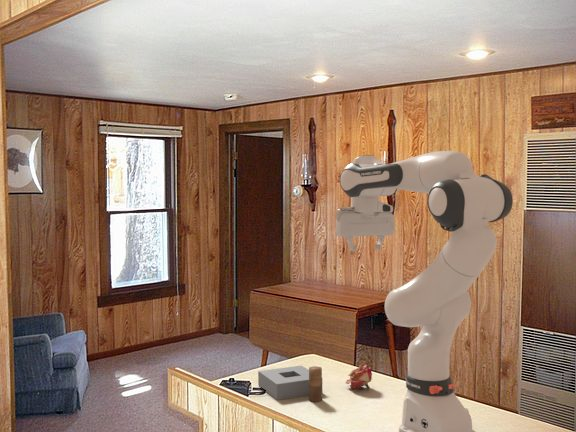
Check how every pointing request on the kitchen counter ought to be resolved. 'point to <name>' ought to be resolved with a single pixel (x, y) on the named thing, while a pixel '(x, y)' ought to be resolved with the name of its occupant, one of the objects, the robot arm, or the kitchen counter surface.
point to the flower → (360, 377)
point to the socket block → (285, 382)
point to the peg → (315, 384)
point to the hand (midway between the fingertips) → (365, 250)
